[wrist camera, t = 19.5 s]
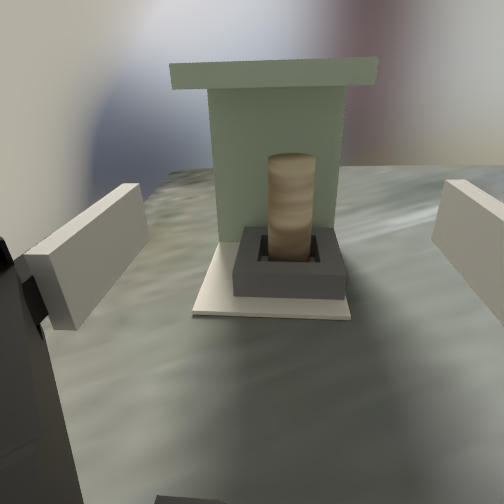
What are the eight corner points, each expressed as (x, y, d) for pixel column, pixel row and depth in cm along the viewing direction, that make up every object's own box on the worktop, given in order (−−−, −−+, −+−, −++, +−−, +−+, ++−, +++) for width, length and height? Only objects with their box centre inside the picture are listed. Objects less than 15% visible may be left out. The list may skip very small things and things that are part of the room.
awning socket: (350, 320, 27) (387, 55, 19) (192, 314, 29) (158, 63, 20) (329, 239, 41) (345, 61, 32) (222, 237, 42) (209, 66, 33)
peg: (316, 274, 33) (325, 159, 28) (280, 285, 31) (282, 166, 26) (295, 256, 36) (299, 151, 31) (261, 265, 35) (259, 156, 29)
